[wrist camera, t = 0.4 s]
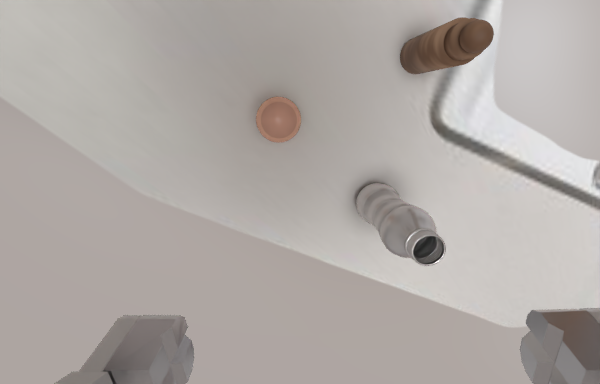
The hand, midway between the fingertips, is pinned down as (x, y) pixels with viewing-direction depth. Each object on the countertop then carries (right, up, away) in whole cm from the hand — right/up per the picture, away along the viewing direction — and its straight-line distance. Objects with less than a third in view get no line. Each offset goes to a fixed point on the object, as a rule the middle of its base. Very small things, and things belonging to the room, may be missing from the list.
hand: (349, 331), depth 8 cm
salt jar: (-5, +14, +43) cm, 45 cm away
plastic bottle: (+11, +2, +47) cm, 49 cm away
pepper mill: (+16, +23, +42) cm, 51 cm away
